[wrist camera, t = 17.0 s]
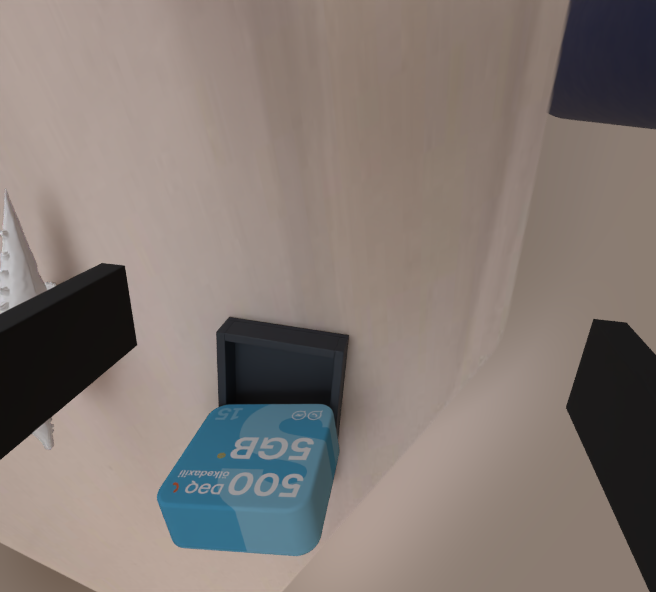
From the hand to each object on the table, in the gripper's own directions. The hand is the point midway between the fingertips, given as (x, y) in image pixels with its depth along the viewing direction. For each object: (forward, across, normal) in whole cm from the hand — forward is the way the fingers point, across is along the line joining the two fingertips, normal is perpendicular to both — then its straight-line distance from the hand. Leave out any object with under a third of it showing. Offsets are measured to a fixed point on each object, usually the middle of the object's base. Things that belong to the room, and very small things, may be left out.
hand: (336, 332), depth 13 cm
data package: (+22, -9, -22) cm, 33 cm away
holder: (+25, -9, -22) cm, 35 cm away
